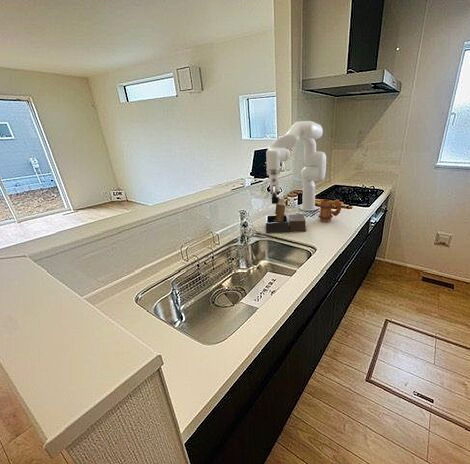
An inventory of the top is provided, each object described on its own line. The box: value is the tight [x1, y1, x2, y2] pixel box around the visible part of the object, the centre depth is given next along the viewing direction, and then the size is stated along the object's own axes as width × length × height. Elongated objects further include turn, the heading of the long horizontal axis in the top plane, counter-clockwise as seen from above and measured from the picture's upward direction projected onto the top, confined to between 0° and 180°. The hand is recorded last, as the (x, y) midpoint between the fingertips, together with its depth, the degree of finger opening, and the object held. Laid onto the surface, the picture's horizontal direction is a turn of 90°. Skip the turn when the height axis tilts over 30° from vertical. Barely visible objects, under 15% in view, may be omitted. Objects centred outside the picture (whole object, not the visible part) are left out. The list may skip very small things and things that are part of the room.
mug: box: [317, 198, 343, 223], centre depth 165 cm, size 15×8×15 cm, turn 74°
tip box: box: [274, 196, 286, 222], centre depth 153 cm, size 13×13×7 cm
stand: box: [287, 213, 307, 233], centre depth 157 cm, size 12×10×7 cm
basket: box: [265, 214, 290, 234], centre depth 157 cm, size 14×14×7 cm
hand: (274, 201), depth 151 cm, fingers closed on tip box, 6 cm apart
